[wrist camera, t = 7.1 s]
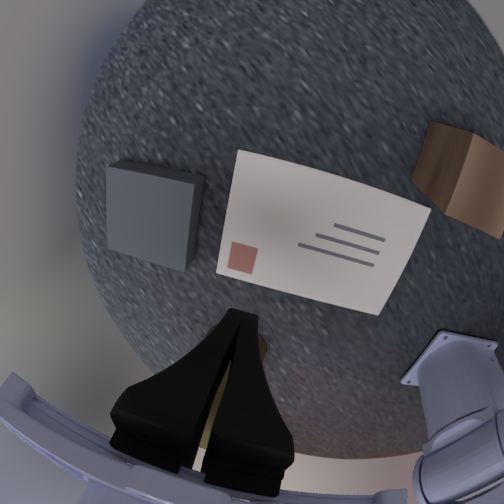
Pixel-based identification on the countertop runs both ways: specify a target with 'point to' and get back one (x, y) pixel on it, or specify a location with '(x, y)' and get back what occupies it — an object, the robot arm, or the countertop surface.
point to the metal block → (153, 212)
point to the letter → (316, 233)
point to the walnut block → (463, 177)
